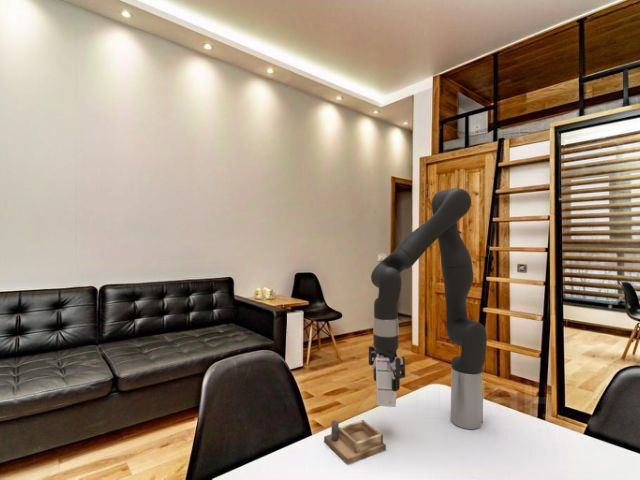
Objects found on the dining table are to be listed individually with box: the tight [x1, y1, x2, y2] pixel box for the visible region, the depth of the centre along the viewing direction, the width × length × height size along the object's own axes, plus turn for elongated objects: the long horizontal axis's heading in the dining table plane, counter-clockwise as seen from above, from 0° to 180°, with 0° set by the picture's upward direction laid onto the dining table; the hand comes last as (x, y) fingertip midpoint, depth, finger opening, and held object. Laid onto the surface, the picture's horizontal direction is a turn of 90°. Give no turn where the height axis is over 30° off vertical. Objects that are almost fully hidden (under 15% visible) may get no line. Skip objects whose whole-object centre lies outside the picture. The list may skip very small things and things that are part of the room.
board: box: [323, 419, 387, 465], centre depth 103 cm, size 13×12×6 cm
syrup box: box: [375, 355, 397, 408], centre depth 110 cm, size 6×6×14 cm
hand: (386, 385), depth 110 cm, fingers closed on syrup box, 8 cm apart
